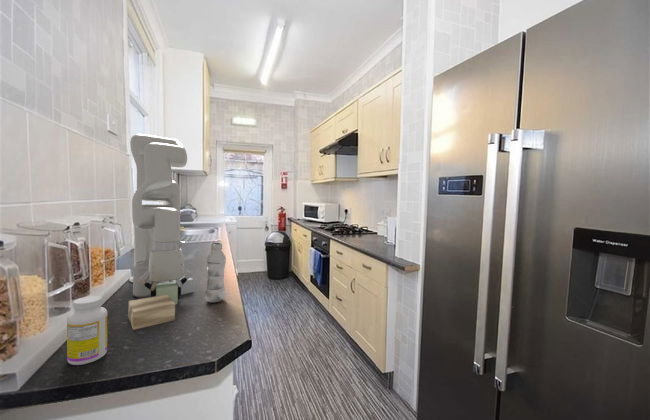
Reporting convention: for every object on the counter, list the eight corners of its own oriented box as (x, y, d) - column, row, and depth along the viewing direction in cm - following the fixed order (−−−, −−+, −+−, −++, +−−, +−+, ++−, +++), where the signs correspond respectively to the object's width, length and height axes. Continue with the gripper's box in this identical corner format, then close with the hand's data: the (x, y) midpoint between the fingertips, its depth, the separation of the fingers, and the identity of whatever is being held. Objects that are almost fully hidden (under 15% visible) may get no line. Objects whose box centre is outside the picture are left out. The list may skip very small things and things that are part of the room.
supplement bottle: (88, 348, 64) (89, 293, 64) (114, 350, 63) (115, 295, 63) (57, 365, 57) (58, 303, 57) (86, 368, 57) (87, 306, 56)
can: (137, 299, 94) (138, 264, 94) (129, 294, 99) (129, 261, 98) (161, 294, 100) (162, 261, 100) (152, 289, 105) (153, 258, 104)
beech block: (128, 317, 81) (128, 300, 81) (166, 310, 88) (167, 294, 87) (132, 330, 74) (133, 312, 73) (174, 321, 80) (175, 304, 80)
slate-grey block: (169, 292, 103) (169, 279, 103) (185, 288, 108) (185, 275, 108) (176, 296, 99) (176, 282, 99) (193, 292, 104) (193, 279, 104)
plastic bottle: (225, 297, 100) (226, 242, 99) (224, 304, 93) (226, 245, 93) (206, 298, 98) (207, 242, 97) (203, 305, 91) (205, 245, 91)
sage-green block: (154, 301, 93) (154, 283, 93) (174, 298, 97) (174, 281, 97) (156, 307, 89) (156, 288, 88) (177, 303, 92) (177, 286, 92)
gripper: (192, 243, 100) (191, 292, 101) (135, 246, 90) (134, 301, 91) (197, 246, 94) (196, 298, 95) (136, 249, 84) (135, 308, 85)
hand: (166, 299), depth 93 cm, fingers closed on sage-green block, 6 cm apart
